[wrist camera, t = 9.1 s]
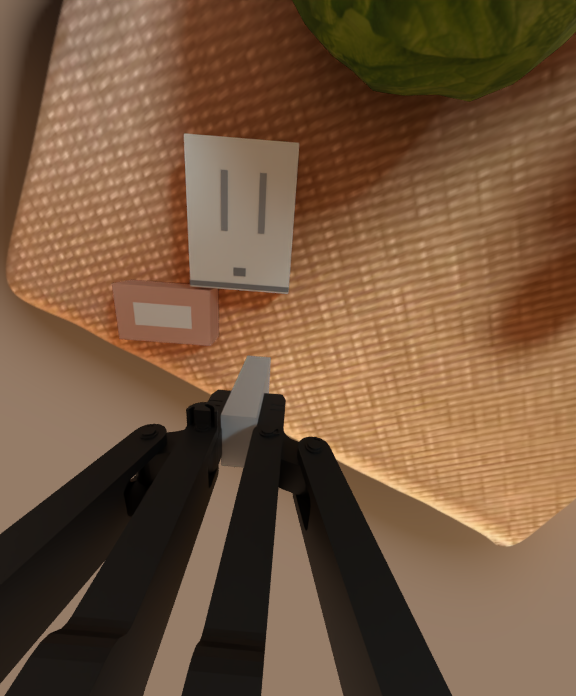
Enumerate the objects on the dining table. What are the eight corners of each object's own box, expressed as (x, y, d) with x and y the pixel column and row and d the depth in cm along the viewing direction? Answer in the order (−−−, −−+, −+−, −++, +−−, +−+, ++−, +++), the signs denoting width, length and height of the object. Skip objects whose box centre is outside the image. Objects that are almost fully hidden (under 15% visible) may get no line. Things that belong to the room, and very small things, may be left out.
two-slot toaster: (196, 147, 27) (183, 132, 24) (298, 155, 27) (299, 142, 24) (201, 282, 32) (190, 286, 28) (288, 289, 32) (288, 294, 28)
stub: (130, 279, 32) (111, 283, 28) (218, 286, 32) (209, 290, 28) (136, 330, 34) (118, 339, 30) (218, 336, 34) (210, 346, 30)
